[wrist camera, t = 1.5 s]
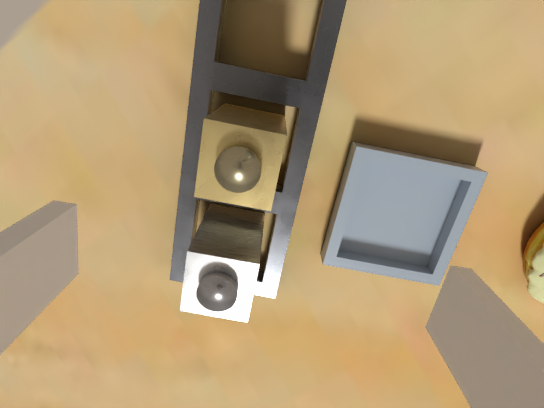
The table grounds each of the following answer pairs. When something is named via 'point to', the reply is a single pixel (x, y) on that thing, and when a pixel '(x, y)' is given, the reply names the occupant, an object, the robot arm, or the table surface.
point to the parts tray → (399, 213)
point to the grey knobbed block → (223, 263)
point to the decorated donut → (535, 264)
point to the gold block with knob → (240, 156)
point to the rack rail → (262, 87)
